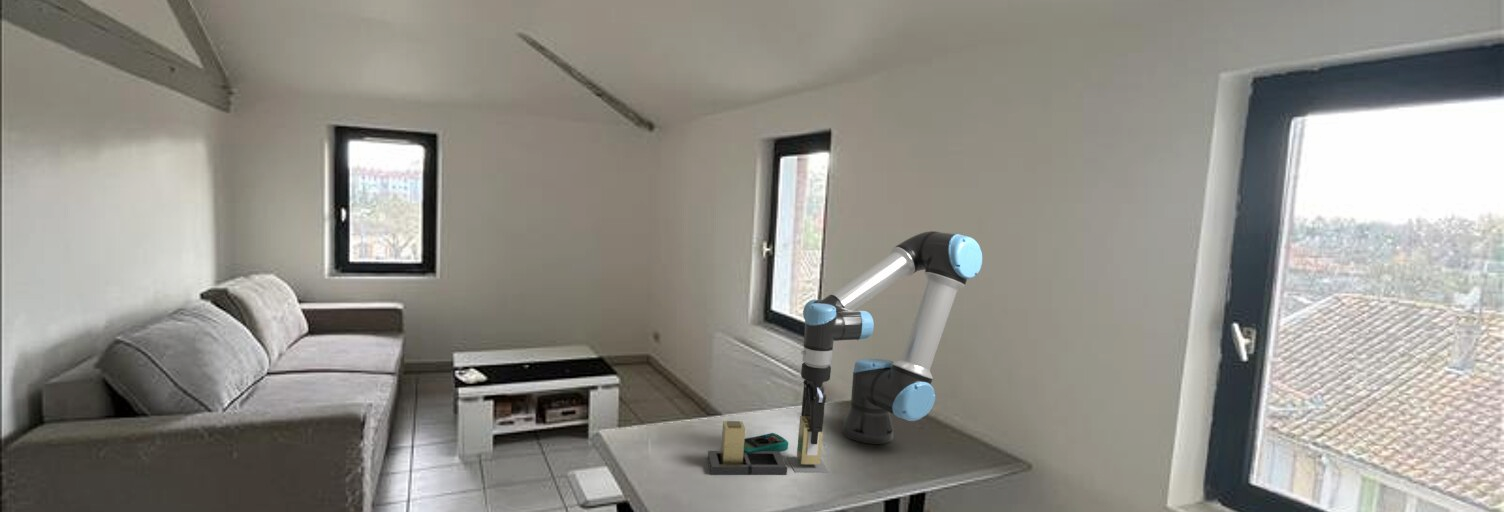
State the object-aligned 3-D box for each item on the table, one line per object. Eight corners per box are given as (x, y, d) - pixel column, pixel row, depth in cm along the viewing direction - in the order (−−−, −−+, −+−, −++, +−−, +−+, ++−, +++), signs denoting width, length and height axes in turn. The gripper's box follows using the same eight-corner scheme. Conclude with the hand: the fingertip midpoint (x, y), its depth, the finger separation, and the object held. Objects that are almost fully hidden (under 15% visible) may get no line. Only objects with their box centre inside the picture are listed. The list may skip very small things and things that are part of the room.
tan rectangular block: (814, 456, 181) (818, 415, 179) (819, 464, 176) (823, 421, 174) (796, 456, 180) (800, 414, 178) (801, 464, 175) (804, 421, 174)
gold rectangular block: (739, 462, 176) (742, 419, 175) (742, 470, 171) (745, 427, 170) (720, 462, 175) (723, 419, 174) (722, 470, 170) (725, 426, 169)
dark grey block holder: (778, 460, 181) (779, 451, 180) (786, 476, 171) (787, 467, 170) (707, 460, 177) (708, 450, 177) (711, 476, 167) (712, 467, 167)
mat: (819, 459, 183) (819, 457, 183) (828, 474, 174) (828, 471, 174) (787, 459, 181) (787, 457, 181) (794, 474, 173) (794, 471, 173)
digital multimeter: (789, 450, 187) (790, 440, 186) (746, 460, 178) (747, 449, 177) (773, 440, 193) (774, 430, 192) (730, 450, 184) (731, 439, 183)
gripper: (794, 354, 183) (787, 437, 186) (811, 373, 165) (803, 464, 168) (821, 355, 184) (814, 437, 187) (840, 374, 167) (832, 464, 169)
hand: (809, 450), depth 177 cm, fingers closed on tan rectangular block, 5 cm apart
